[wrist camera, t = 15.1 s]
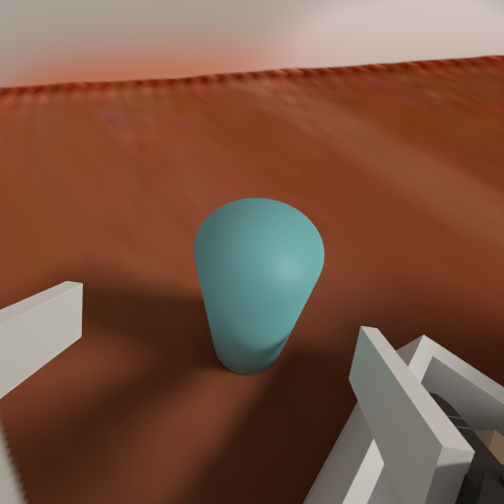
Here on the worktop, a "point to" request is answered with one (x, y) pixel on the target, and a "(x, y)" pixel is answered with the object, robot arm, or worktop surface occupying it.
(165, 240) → the worktop surface
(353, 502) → the grey tote
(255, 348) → the teal cylinder
